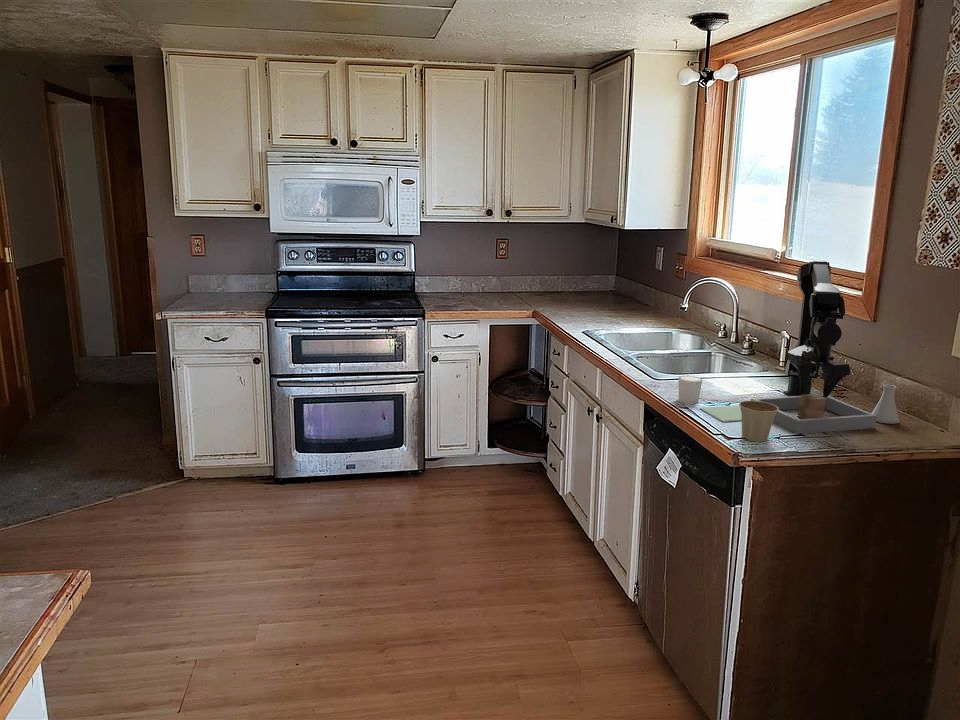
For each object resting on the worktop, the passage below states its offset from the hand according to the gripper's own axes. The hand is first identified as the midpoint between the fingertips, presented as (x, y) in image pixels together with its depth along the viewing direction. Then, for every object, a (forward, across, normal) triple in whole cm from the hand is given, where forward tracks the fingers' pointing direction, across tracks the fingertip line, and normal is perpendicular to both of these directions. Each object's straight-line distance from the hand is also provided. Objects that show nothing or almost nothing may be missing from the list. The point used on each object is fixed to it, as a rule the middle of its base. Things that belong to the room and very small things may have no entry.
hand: (813, 392), depth 203 cm
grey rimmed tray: (+8, 0, 0) cm, 8 cm away
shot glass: (+8, -22, -25) cm, 34 cm away
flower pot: (+8, +11, -25) cm, 29 cm away
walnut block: (+8, 0, 0) cm, 8 cm away
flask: (+8, +5, +20) cm, 22 cm away
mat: (+8, -8, -20) cm, 23 cm away
